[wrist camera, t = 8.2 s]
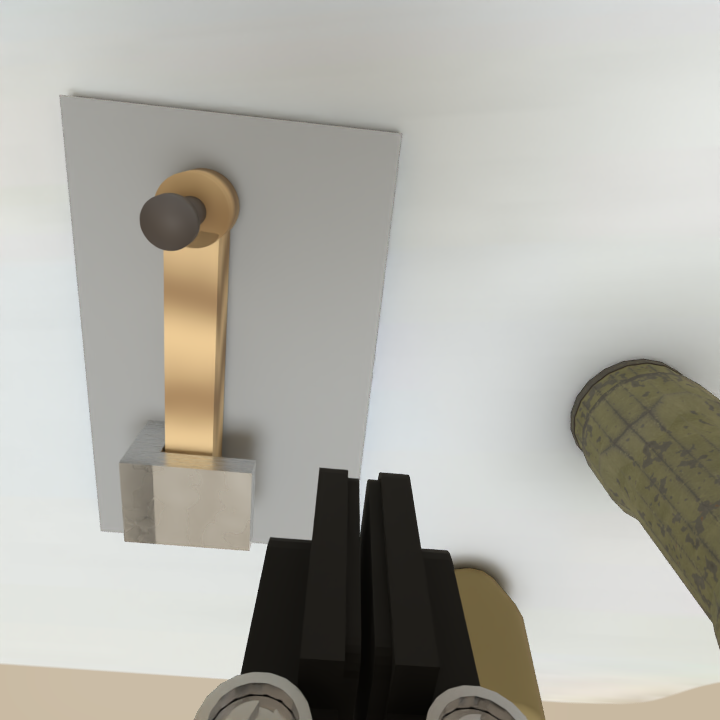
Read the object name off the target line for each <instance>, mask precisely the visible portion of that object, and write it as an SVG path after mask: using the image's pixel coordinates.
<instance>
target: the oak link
mask: <svg viewBox="0 0 720 720" xmlns="http://www.w3.org/2000/svg"><path fill="white" fill-rule="evenodd" d="M239 209H240V207H239V198H238V195H237V192H236V190H235V188H234V187H233V185H232V184H231V182H230V181H229V180H228V179H227V178H226V177H225V176H223V175H222V174H220V173H218V172H216V171H214V170H211V169H207V168H196V169H192V170H188V171H184V172H180V173H177V174H174V175H172V176H170V177H168V178H167V179H166V180H164V181H163V182H162V184H161V185H160V186H159V188H158V190H157V192H156V194H155V196H154V197H152V198H150V199H149V200H148V201H147V202H146V203H145V204H144V205H143V207H142V209H141V212H140V227H141V230H142V232H143V234H144V236H145V237H146V239H147V240H148V241H149V242H150V243H151V244H153V245H154V246H156V247H157V248H159V249H162V250H163V255H164V372H165V452H166V453H178V454H190V455H202V456H214V457H222V436H223V409H224V382H225V355H226V328H227V301H228V274H229V247H230V230H231V229H232V227H233V226H234V225H235V223H236V221H237V219H238V215H239Z"/></svg>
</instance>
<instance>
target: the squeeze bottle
mask: <svg viewBox="0 0 720 720" xmlns="http://www.w3.org/2000/svg"><path fill="white" fill-rule="evenodd" d="M454 571H455V576H456V580H457V585H458V589H459V594H460V598H461V602H462V607H463V611H464V616H465V620H466V625H467V629H468V633H469V638H470V642H471V647H472V651H473V656H474V660H475V664H476V669H477V673H478V678H479V682H480V687H483V688H486V689H488V690H491V691H494V692H497V693H498V694H500V695H501V696H503V697H504V698H506V699H507V700H509V701H511V702H512V703H513V704H514V705H515V706H516V707H517V708H518V709H519V710H520V711H521V712H522V713H523V714H524V715H525V716H526V718H527V720H545V716H544V711H543V707H542V702H541V698H540V693H539V688H538V684H537V679H536V675H535V670H534V666H533V661H532V657H531V652H530V648H529V643H528V638H527V634H526V629H525V625H524V620H523V617H522V615H521V613H520V612H519V610H518V608H517V606H516V604H515V603H514V602H513V601H512V600H511V598H510V597H509V596H508V595H507V594H506V593H505V591H504V590H503V589H502V588H501V587H500V585H499V584H498V583H497V582H496V581H495V580H494V578H492V577H491V576H490V575H488V574H487V573H485V572H484V571H481V570H477V569H472V568H463V569H455V570H454Z"/></svg>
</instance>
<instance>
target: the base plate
mask: <svg viewBox="0 0 720 720" xmlns="http://www.w3.org/2000/svg"><path fill="white" fill-rule="evenodd" d="M60 105H61V115H62V126H63V137H64V147H65V158H66V168H67V179H68V189H69V200H70V211H71V221H72V232H73V242H74V253H75V264H76V274H77V285H78V295H79V306H80V316H81V327H82V338H83V348H84V359H85V369H86V380H87V391H88V401H89V412H90V422H91V433H92V443H93V454H94V465H95V475H96V486H97V496H98V507H99V518H100V528H101V531H104V532H118V533H124V527H123V513H122V500H121V487H120V473H119V462H120V460H121V459H122V457H123V456H124V454H125V453H126V452H127V450H128V449H129V447H130V446H131V445H132V443H133V442H134V440H135V439H136V437H137V436H138V435H139V433H140V432H141V430H142V429H143V427H144V426H145V425H146V423H147V422H148V420H155V421H165V372H164V255H163V250H162V249H159V248H157V247H156V246H154V245H153V244H151V243H150V242H149V241H148V240H147V239H146V237H145V236H144V234H143V232H142V230H141V227H140V212H141V209H142V207H143V205H144V204H145V203H146V202H147V201H148V200H149V199H150V198H152V197H154V196H155V194H156V192H157V190H158V188H159V186H160V185H161V184H162V182H163V181H164V180H166V179H167V178H168V177H170V176H172V175H174V174H177V173H180V172H184V171H188V170H192V169H196V168H207V169H211V170H214V171H216V172H218V173H220V174H222V175H223V176H225V177H226V178H227V179H228V180H229V181H230V182H231V184H232V185H233V187H234V188H235V190H236V192H237V195H238V198H239V207H240V209H239V215H238V219H237V221H236V223H235V225H234V226H233V227H232V229H231V230H230V247H229V274H228V301H227V328H226V355H225V382H224V409H223V436H222V457H226V458H238V459H250V460H256V471H255V498H254V525H253V538H252V542H251V543H263V544H268V541H269V538H270V537H276V538H289V539H302V540H312V534H313V524H314V515H315V505H316V495H317V486H318V476H319V467H320V468H332V469H344V470H348V478H358V479H360V471H361V463H362V455H363V447H364V438H365V430H366V422H367V414H368V406H369V398H370V390H371V382H372V374H373V365H374V357H375V349H376V341H377V333H378V325H379V317H380V309H381V301H382V292H383V284H384V276H385V268H386V260H387V252H388V244H389V236H390V228H391V220H392V211H393V203H394V195H395V187H396V179H397V171H398V163H399V155H400V147H401V138H402V133H395V132H386V131H377V130H368V129H359V128H350V127H341V126H333V125H324V124H315V123H306V122H297V121H288V120H279V119H270V118H262V117H253V116H244V115H235V114H226V113H217V112H208V111H199V110H191V109H182V108H173V107H164V106H155V105H146V104H137V103H128V102H119V101H111V100H102V99H93V98H84V97H75V96H66V95H60Z"/></svg>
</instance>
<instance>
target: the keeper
mask: <svg viewBox="0 0 720 720" xmlns="http://www.w3.org/2000/svg"><path fill="white" fill-rule="evenodd" d="M255 471H256V460H250V459H238V458H226V457H214V456H202V455H190V454H178V453H166V452H165V421H155V420H148V422H147V423H146V425H145V426H144V427H143V429H142V430H141V432H140V433H139V435H138V436H137V437H136V439H135V440H134V442H133V443H132V445H131V446H130V447H129V449H128V450H127V452H126V453H125V454H124V456H123V457H122V459H121V460H120V462H119V473H120V487H121V500H122V513H123V527H124V540H125V542H138V543H151V544H164V545H178V546H191V547H204V548H218V549H231V550H245V551H249V550H250V546H251V542H252V538H253V525H254V498H255Z"/></svg>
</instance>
